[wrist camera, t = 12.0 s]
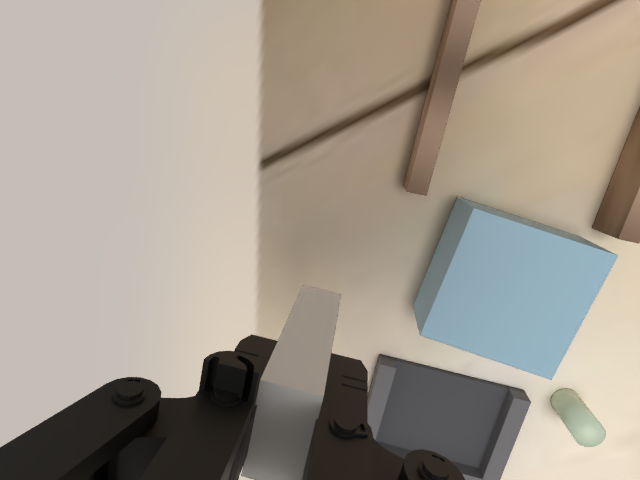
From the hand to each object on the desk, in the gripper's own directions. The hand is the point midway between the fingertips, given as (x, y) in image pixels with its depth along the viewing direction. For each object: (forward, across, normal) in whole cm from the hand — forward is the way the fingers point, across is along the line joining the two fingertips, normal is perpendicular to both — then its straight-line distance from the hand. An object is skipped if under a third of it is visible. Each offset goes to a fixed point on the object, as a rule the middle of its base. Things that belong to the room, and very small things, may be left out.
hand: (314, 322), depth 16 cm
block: (+9, +9, +1) cm, 13 cm away
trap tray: (+9, +9, -9) cm, 16 cm away
